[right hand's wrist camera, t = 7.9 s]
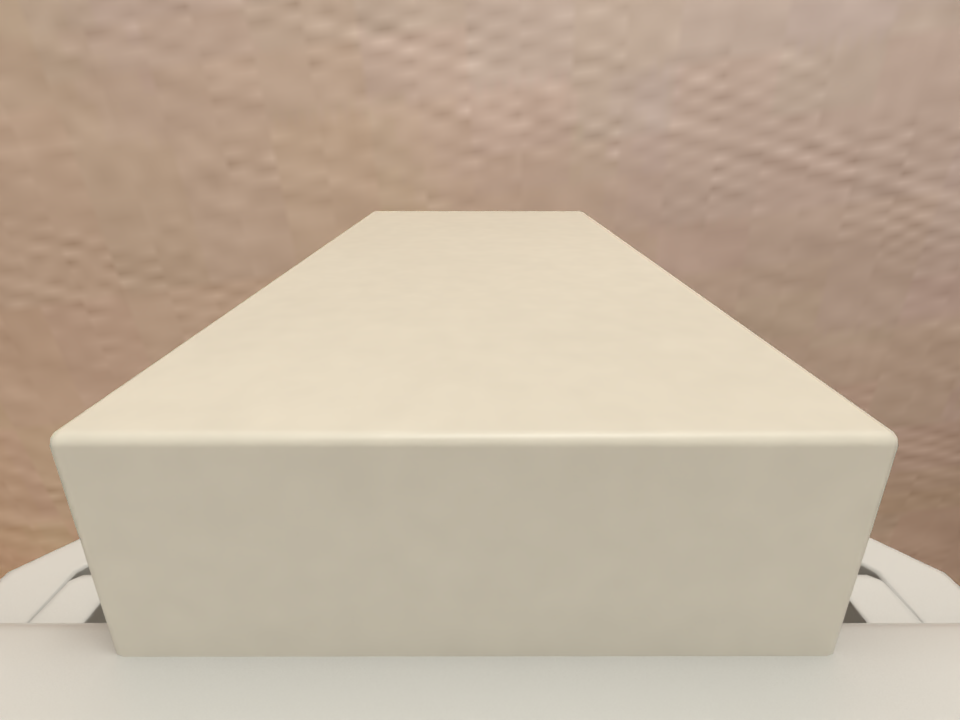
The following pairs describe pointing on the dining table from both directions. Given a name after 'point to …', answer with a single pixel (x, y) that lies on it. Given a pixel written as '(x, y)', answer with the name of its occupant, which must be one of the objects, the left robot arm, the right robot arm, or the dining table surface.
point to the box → (474, 462)
